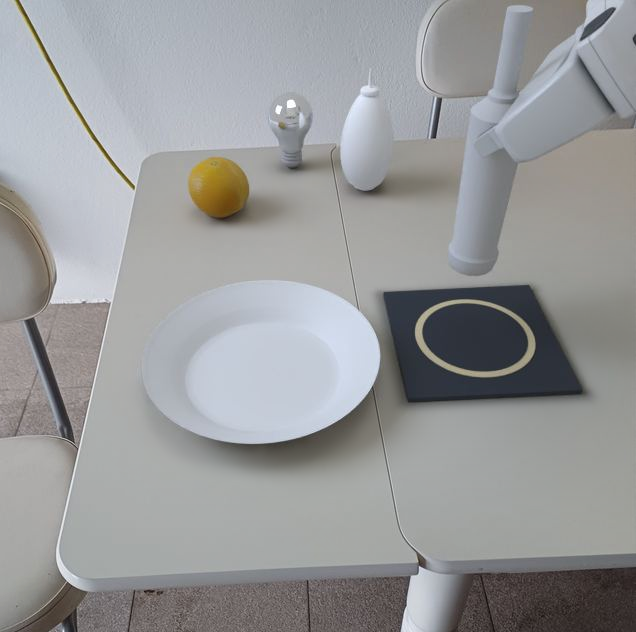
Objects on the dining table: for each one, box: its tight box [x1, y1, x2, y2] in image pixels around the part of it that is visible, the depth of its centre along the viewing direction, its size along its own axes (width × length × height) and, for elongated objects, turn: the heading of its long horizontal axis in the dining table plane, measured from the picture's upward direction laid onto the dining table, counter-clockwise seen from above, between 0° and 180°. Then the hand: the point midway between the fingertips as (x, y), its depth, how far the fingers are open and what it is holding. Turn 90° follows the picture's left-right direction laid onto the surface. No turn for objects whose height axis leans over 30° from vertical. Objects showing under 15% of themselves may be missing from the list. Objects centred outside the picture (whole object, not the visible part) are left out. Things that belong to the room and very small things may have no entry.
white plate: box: [140, 279, 381, 445], centre depth 69 cm, size 25×25×4 cm
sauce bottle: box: [339, 67, 395, 192], centre depth 94 cm, size 8×8×18 cm
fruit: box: [187, 156, 250, 219], centre depth 94 cm, size 9×8×8 cm
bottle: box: [447, 4, 534, 277], centre depth 61 cm, size 5×5×25 cm
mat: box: [382, 284, 584, 403], centre depth 73 cm, size 18×18×1 cm
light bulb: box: [267, 91, 314, 169], centre depth 102 cm, size 7×7×12 cm
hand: (489, 134), depth 60 cm, fingers closed on bottle, 5 cm apart
